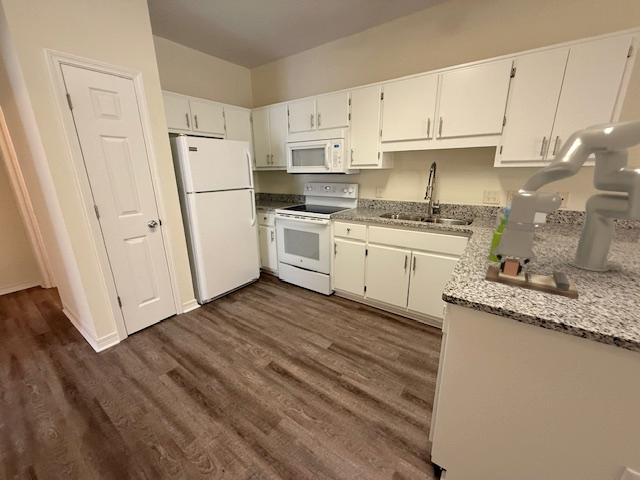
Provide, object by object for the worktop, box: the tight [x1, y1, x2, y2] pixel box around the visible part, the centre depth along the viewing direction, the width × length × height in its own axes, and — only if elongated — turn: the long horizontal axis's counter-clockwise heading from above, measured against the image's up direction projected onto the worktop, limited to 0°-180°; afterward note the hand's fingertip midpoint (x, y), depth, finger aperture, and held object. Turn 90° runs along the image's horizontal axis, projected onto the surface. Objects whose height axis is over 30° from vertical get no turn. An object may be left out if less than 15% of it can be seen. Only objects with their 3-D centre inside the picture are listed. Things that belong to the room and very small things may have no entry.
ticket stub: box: [499, 257, 525, 282], centre depth 100 cm, size 8×10×6 cm
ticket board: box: [485, 265, 580, 300], centre depth 98 cm, size 26×14×4 cm, turn 54°
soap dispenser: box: [488, 217, 508, 263], centre depth 120 cm, size 6×7×20 cm
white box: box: [495, 205, 547, 233], centre depth 160 cm, size 20×16×25 cm
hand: (509, 272), depth 101 cm, fingers closed on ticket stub, 4 cm apart
